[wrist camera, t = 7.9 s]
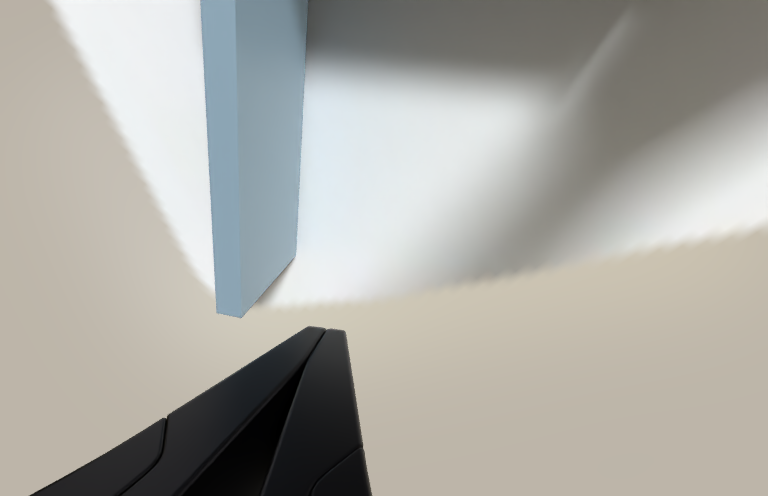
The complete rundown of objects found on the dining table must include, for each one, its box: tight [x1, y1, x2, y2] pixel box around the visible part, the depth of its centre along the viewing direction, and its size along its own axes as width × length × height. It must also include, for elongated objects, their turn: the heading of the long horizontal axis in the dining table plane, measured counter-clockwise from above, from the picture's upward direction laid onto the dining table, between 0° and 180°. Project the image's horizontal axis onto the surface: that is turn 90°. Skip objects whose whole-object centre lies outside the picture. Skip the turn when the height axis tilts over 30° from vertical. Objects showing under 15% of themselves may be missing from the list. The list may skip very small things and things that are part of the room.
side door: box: [200, 0, 308, 318], centre depth 14 cm, size 15×2×6 cm, turn 172°
